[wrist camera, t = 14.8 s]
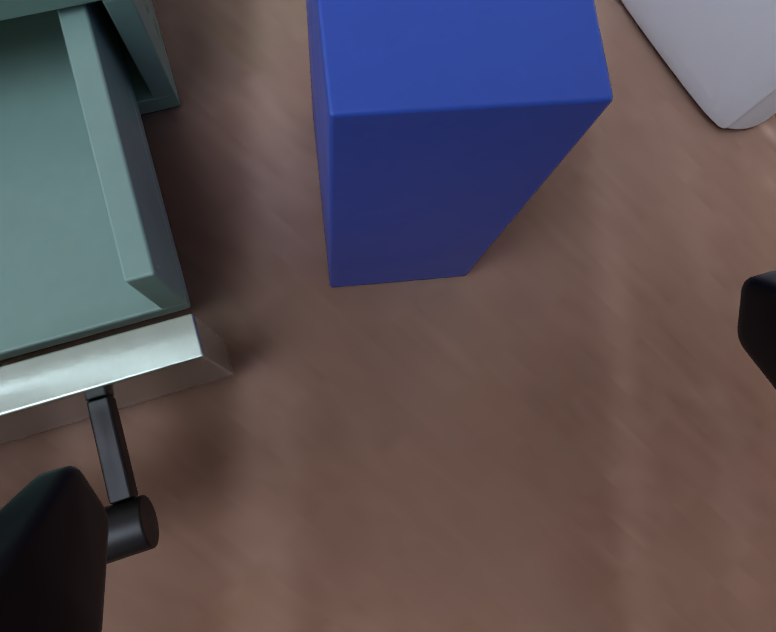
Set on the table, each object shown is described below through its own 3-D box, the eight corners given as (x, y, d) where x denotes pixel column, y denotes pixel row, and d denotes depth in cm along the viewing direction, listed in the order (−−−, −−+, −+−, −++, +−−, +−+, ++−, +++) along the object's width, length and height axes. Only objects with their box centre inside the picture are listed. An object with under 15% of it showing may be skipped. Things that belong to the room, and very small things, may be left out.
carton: (466, 275, 22) (615, 99, 11) (330, 288, 22) (328, 116, 10) (441, 102, 24) (550, -228, 12) (312, 109, 23) (292, -229, 11)
